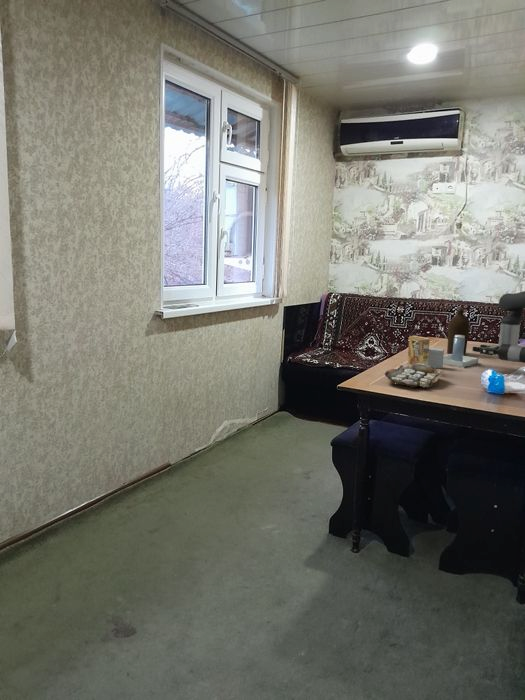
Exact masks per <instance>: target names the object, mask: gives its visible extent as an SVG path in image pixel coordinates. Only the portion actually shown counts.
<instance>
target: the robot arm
mask: <svg viewBox="0 0 525 700" xmlns="http://www.w3.org/2000/svg"><path fill="white" fill-rule="evenodd" d="M498 305H499V308H500V309H501V310H502V311H506V312H510V313H509V314H508V315H506V316H504V317H501V320H500V331H499V335H498V337H499V339H498V345H494V344H491V345H490V344H489V345H486V344H481V345H480V347H479V346H472V352H475V353H479V354H480V355H486V356H487V355H488V356H496V355H497V356H498V359H500V360H501V361H508V362H514V363H515V362H516V363H523V364H525V346H522V345H521V346H520V345H518V344H519V338H520V328H521V323H522V320H523V315H524V309H525V290H524V291H523V290H522V291H520V292H517V293H504V294H503V295H501V297H500V298H499V300H498Z"/></svg>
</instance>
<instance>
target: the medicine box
mask: <svg viewBox="0 0 525 700" xmlns="http://www.w3.org/2000/svg"><path fill="white" fill-rule="evenodd" d="M444 354H445V349H443V348H434V347H429V355H428V365H431V366H433V367H435V369H443V365H444V364H443V357H444V356H445V355H444Z"/></svg>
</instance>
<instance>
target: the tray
mask: <svg viewBox="0 0 525 700" xmlns="http://www.w3.org/2000/svg"><path fill="white" fill-rule="evenodd" d="M478 362H479V358H477V357H472V356H467V355H463V362H460V361H454V360H452V354H446V355H444V357H443V365H445V364H446V366H451V365H453V366H452V367H456V366H458V367H457V368H462V367H464V368H467V367H470V366H473V364H474V365H477V364H478ZM476 363H477V364H476ZM466 366H467V367H466Z"/></svg>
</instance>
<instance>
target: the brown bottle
mask: <svg viewBox="0 0 525 700" xmlns="http://www.w3.org/2000/svg"><path fill="white" fill-rule="evenodd" d="M464 309H465V308H464V307H460V306H459V307H457V310H456V315H454V316H453V317H452V318H451V319H450V320H449V322H448V326H447V327H448V328H447V331H448V332H447V347H446V351H447V355H449V354H453V344H454V337H455V335H464V336H465V343H464V353H463V356H466V353H467V347H468V339H469V333H470V328H471V327H470V325H471V324H470V321H469V320H468V319H467V318H466V316H465V315H464V311H465V310H464Z"/></svg>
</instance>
